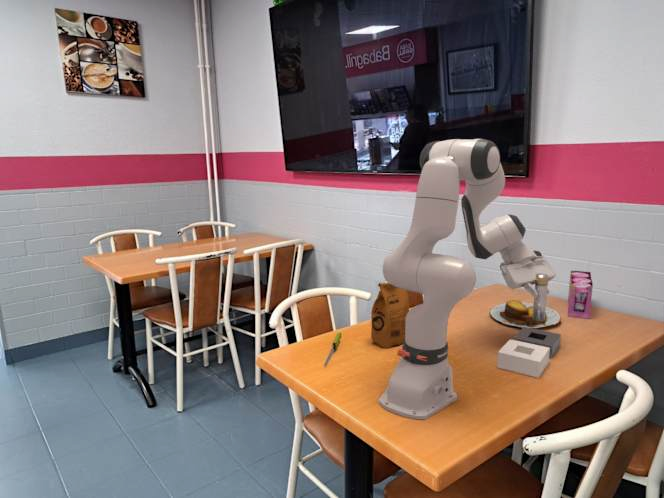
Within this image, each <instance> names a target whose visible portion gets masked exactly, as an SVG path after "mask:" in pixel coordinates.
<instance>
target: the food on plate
mask: <svg viewBox="0 0 664 498" xmlns="http://www.w3.org/2000/svg"><path fill="white" fill-rule="evenodd" d="M533 307H534V302H533V303H532V302H525V301H521V300H515V299H514V300H513V299H512V300H507V302H503V303H499V304H497V305H494V306H493V307H491V308H490V309H489V314H490V315H489V316H491V318H493V319H494V320H496V321H497V322H501V323H502V324H503V325H507V326H513V327H518V328H523V327H527V328H532V329H538V328H543V327H548V326H552V325H555V326H556V325H557V324H561V319H562V317H561V314H559V312H558V311H556V310H555V309H552V308H550V307H548V306H546V308H545V320H543V321H538V320H534V319H533Z"/></svg>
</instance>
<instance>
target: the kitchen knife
mask: <svg viewBox="0 0 664 498" xmlns="http://www.w3.org/2000/svg"><path fill="white" fill-rule="evenodd" d="M341 339H342V332H337V333H336V335H335V337H334V340H333V341H332V346H331V349H330V351H329V353H328V355H327V357H326V360H325V362H324V366H325V367H326V366H327V365H328V364H329V362H330V360H331V359H332V356H333V355H334V352H335V351H337V350H338V344H339V343H340V342H341V341H340V340H341Z"/></svg>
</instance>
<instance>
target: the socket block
mask: <svg viewBox="0 0 664 498" xmlns="http://www.w3.org/2000/svg"><path fill="white" fill-rule="evenodd" d="M561 337H562V334H560V333H556V332H551V331H547V330H541V329H538V328H527V327H521V329H520V330H519V331H518V332H517V334H515V336H513V338H512V340H516V341H521V342H525V343H530V344H535V345H539V346H544V347H548V348H550V353H549V359H552V358H553V357H555V356H554V355H555V354H556V352H557V351H558V350H559V348H560V346H561V339H562V338H561Z"/></svg>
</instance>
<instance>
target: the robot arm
mask: <svg viewBox="0 0 664 498" xmlns="http://www.w3.org/2000/svg"><path fill="white" fill-rule="evenodd" d="M419 166H420V168H421V172H420V176H419V180H418V182H417V183H418V184H417V188H416V194H415V200H414V201H415V202H414V208H413V214H412V220H411V224H410V227H409V230H408V232H407V234H406V237H405V238H404V239H403V241H402V242H401V244H399V245H398V246H397V247H396V248H395V249H393V250H392V251H391V252H389V253H388V254H387V256H386V257H384V260H383V264H382V276H383V277H384V280H385V283H389V284H391V285H393V286H395V287H398V288H400V289H403V290H406V291H409V292H413V293H419V294H423V301H422V303H420V304H417V305H415V306H413V307H412V308H409V311H408V313H407V315H406V318H405V340H404V343H403V344H402V347H401V348H398V349H397V352H396V355H397V356H398V357H400V359H399V360H398V363H397V364H396V366H395V368H394V370H393V372H392V374H391V376H390V378H389V380H388V384H387V387H386V389H385V390H384V391H383V393H381V396H380V397H379V399H378V404H379V405H380V406H381V407H382V408H383V409H385V410H387V411H389V412H391V413H394V414H397V415H399V416H403V417H405V418H409V419H415V420H427V419H428V418H430V417H432V416H433V415H435V414H437V413H438V412H440V411H441V410H443V409H444V408H445V407H447V406H449V405H450V404H452V403H453V402H455V401H457V400H458V394H457V393H456V392H455V391H454V385H453V384H454V383H453V368H452V366H451V365H450V362H449V361H448V356H449V345H448V344H449V343H448V341H447V337H448V336H447V334H448V333H447V332H448V323H449V318H450V314H451V312H452V310H453V309H454V307H455V306H456V305H457V304H458V303H459V302H460V301H461V300H464V299H465V298H467V297H468V296H469V295H471V293H472V292H473V290H474V288H475V285H476V281H477V274H476V270H475V267H474V266H473V264H472V263H471V262H470V261H468V260H465V259H462V258H459V257H457V256H454V255H448V254H447V255H446V254H441V253H434V252H433V250H434V247H435V245H437V243H438V242H439V241H442V240H444V239H446V238H448V237H450V235H452V234H453V232H454V231H455V229H456V222H457V213H458V207H459V201H460V200H461V201H460V202H461V203H460V205H461V212H462V216H463V217H462V218H463V223H464V228H465V231H466V242H467V247H468V250H469V252H470V253H471V255H472V256H473V257H474V258H476V259H480V260H488V258H489V259H490V257H492V256H494V255H495V254H497V253H500V256H501V258H502V260H503V262H501V263H500V265H499V270H500V271H501V275H502V278H503V280H504V281H505V283H506V285H507V287H508V288H510V289H512V290H514V289H515V290H516V289H520V288H524V290H526V291H527V292H529V293H530V294H531V296H532V297H533V298H534V297H537V296H539V295H540V293H539V292H538V290H535V287H534V286H535V279H536V274H538V273H542V274H547V275H548V282H550V281H552V280H553V279H554V278H555V277H556V271H555V269H554V268H553V267H552V265H551V264H550V262H549V261H548V260H547V259H546V258H544V257H545V255H544V253H543V252H542V251H541V250H535V249H533V248H528V246H527V245H526V244H525V243H524V242H523V241H522V240H523V239H524V237H525V234H526V231H527V230H526V228H525V226H524V225H523V223H522V222H521V220H520V218H519V217H518V216H516V215H514V214H505V215H503V216H497V217H494V218H493V219H491V220H490V221H489V222H488V223H487V224H486V225H484V226H481V223H480V216H481V214H482V213H483V211H484V210H485V209H486V208H488V206H489V205H491V203H492V202H494V201H495V200H496V199H497V198H498V197H499V196H500V195H501V193H502V192H503V190H504V188H505V185H506V175H505V172H504V169H503V166H502V163H501V152H500V149H499V147H498V146H497V145H496V143H494V142H493V141H491V140H488V139H483V138H474V139H465V138H464V139H461V138H454V139H446V140H442V141H441V140H436V141H432V142H429V143H427V144H426V145H425V146H424V147H423V149H422V151H421V152H420V156H419ZM460 181H465V191H464V194H463V195H462V197H461V199H459V198H460V184H461V183H460ZM533 285H534V286H533ZM550 293H551V291H550V289H549V288H548V285H547V295H549V294H550Z"/></svg>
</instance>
